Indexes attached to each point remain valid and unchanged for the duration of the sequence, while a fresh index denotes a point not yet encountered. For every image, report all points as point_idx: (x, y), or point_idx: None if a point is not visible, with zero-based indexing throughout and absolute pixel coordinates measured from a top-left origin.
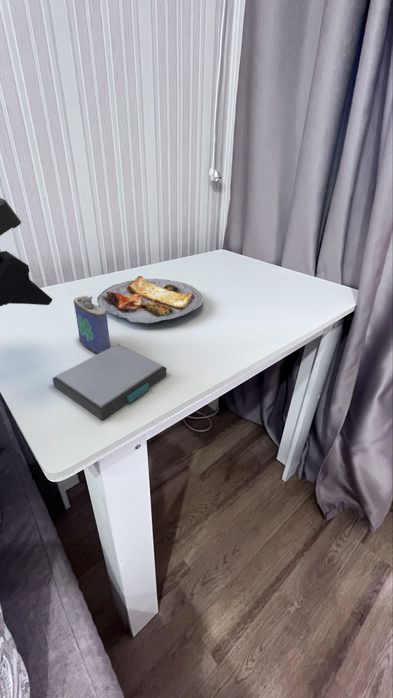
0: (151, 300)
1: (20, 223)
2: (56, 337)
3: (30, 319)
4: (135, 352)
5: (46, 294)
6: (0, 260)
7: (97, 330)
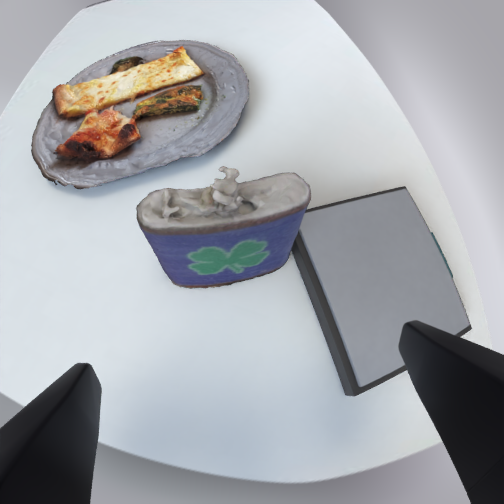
0: (128, 100)
1: None
2: (128, 330)
3: (19, 346)
4: (348, 203)
5: (454, 336)
6: None
7: (291, 235)
